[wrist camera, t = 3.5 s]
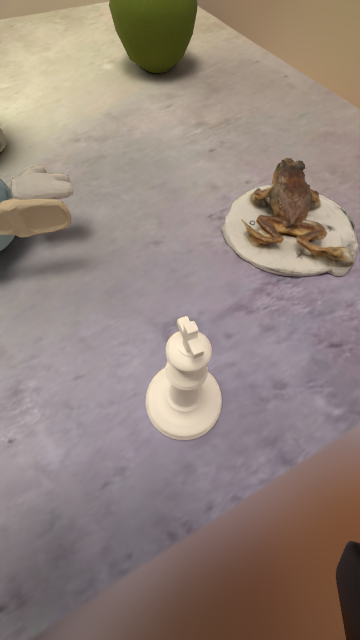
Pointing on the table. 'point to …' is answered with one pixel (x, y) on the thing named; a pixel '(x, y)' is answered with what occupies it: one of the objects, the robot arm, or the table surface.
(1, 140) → the teapot
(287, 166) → the frog figurine
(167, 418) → the chess piece
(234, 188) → the table surface
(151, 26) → the apple
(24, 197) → the toy figure
